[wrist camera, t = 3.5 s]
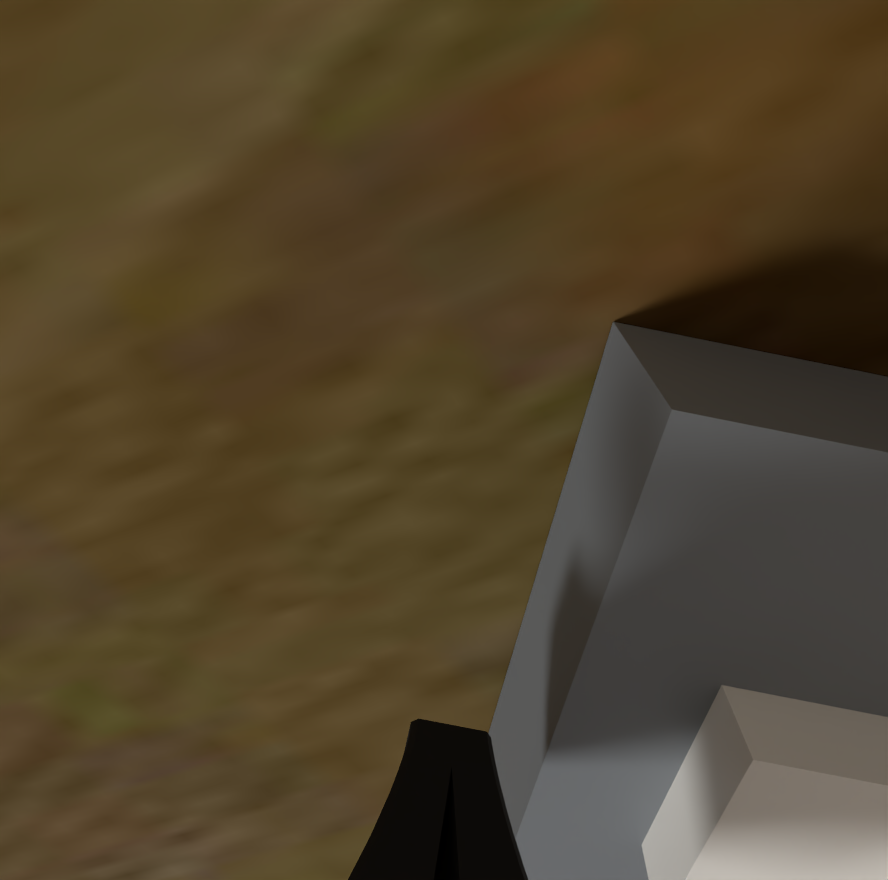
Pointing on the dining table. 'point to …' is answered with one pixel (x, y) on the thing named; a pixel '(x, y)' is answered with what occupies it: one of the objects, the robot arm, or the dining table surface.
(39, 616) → the dining table surface
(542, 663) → the grey drawer housing
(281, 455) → the dining table surface
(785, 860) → the cream tile
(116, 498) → the dining table surface
